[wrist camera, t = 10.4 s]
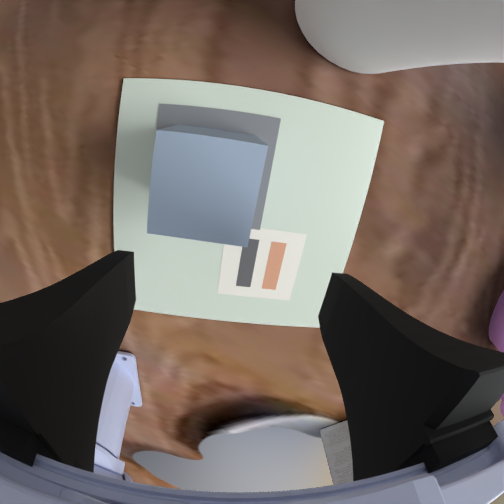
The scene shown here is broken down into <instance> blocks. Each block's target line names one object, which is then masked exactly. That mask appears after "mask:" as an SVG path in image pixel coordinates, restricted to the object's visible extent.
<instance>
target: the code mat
mask: <svg viewBox="0 0 504 504" xmlns="http://www.w3.org/2000/svg"><path fill="white" fill-rule="evenodd" d="M383 124H384V121H382V120H379V119H376V118H373V117H370V116H367V115H363V114H360V113H357V112H354V111H350V110H347V109H343V108H340V107H336V106H333V105H329V104H325V103H321V102H317V101H313V100H309V99H304V98H300V97H296V96H291V95H286V94H281V93H276V92H271V91H265V90H260V89H254V88H247V87H241V86H234V85H226V84H218V83H209V82H199V81H187V80H172V79H147V78H124V80H123V87H122V94H121V102H120V110H119V118H118V128H117V139H116V153H115V170H114V209H113V217H114V251H117V250H123V251H131V252H134V269H135V290H136V302H135V306H134V309H135V310H142V311H149V312H156V313H163V314H171V315H178V316H186V317H195V318H204V319H213V320H222V321H233V322H243V323H255V324H268V325H282V326H298V327H318V328H320V325H319V319H318V315H319V312H320V309H321V306H322V303H323V300H324V297H325V294H326V291H327V287H328V284H329V281H330V278H331V275H332V273H343V271H344V268H345V265H346V262H347V259H348V256H349V252H350V249H351V246H352V243H353V240H354V236H355V233H356V230H357V227H358V223H359V220H360V216H361V213H362V209H363V206H364V202H365V199H366V195H367V191H368V187H369V184H370V180H371V176H372V172H373V168H374V164H375V160H376V155H377V151H378V147H379V142H380V138H381V133H382V129H383ZM175 125H188V126H196V127H204V128H211V129H218V130H225V131H231V132H237V133H243V134H249V135H255V136H257V137H259V138H260V139H261V140H262V141H263V142H264V143H266V144H267V145H268V150H267V155H266V160H265V164H264V169H263V174H262V179H261V184H260V189H259V193H258V198H257V203H256V208H255V213H254V218H253V223H252V228H251V233H250V238H249V242H248V247H241V246H234V245H227V244H219V243H212V242H205V241H198V240H191V239H184V238H177V237H170V236H163V235H155V234H148V233H147V220H148V205H149V192H150V181H151V171H152V162H153V153H154V145H155V137H156V130H158V129H162V128H166V127H170V126H175Z"/></svg>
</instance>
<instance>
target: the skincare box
mask: <svg viewBox="0 0 504 504" xmlns="http://www.w3.org/2000/svg"><path fill="white" fill-rule="evenodd" d="M320 435H321V439H322V442H323V446H324V450H325V453H326V457H327V461H328V465H329V469H330V473H331V476H332V481H333V484H334V485H337V484H342V483H348V482H353V464H352V452H351V442H350V434H349V428H348V422H347V420H346V421H343V422H340V423H338V424H335V425H332V426H329V427H326V428H323V429H320Z"/></svg>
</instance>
